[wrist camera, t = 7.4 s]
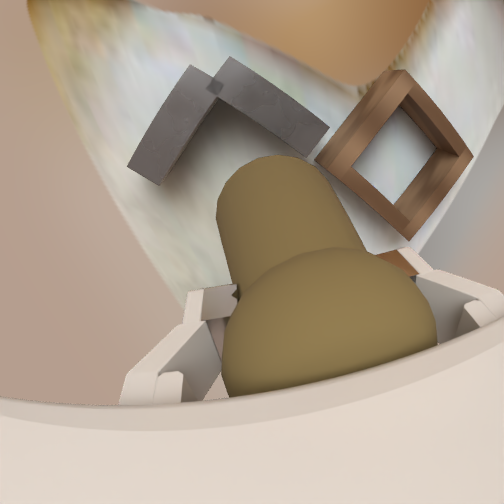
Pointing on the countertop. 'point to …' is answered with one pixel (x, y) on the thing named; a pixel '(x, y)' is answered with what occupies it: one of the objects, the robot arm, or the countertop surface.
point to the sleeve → (367, 126)
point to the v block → (201, 102)
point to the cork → (307, 284)
